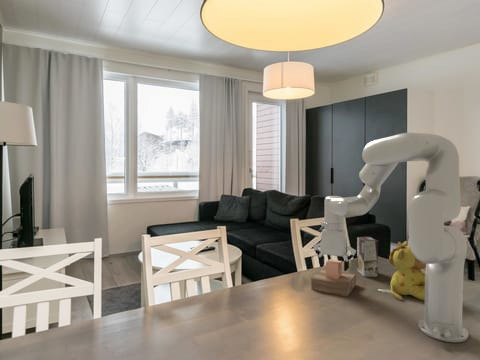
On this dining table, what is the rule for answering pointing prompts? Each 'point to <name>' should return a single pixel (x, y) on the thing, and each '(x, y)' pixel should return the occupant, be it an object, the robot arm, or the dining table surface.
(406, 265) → the giraffe plush
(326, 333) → the dining table surface
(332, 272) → the terracotta block
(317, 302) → the dining table surface
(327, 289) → the walnut base
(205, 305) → the dining table surface
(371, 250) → the coffee box
